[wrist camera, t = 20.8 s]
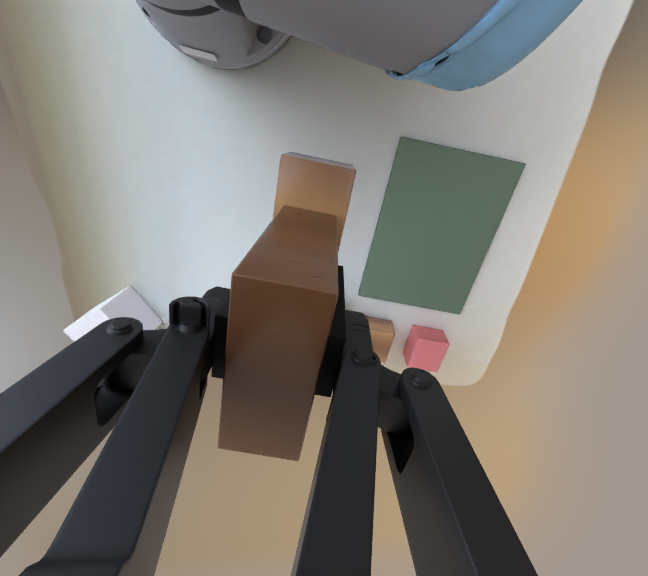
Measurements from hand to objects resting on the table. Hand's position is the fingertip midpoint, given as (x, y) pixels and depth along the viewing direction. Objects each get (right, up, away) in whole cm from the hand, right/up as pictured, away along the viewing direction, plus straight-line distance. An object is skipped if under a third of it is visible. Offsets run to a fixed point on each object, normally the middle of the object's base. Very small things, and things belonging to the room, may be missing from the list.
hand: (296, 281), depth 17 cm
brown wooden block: (0, +2, +6) cm, 6 cm away
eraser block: (+15, -7, +26) cm, 31 cm away
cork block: (+8, -6, +26) cm, 28 cm away
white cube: (-24, -4, +26) cm, 35 cm away
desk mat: (+14, +6, +20) cm, 25 cm away
